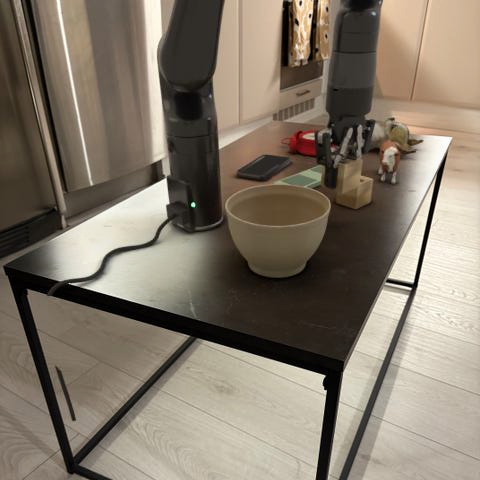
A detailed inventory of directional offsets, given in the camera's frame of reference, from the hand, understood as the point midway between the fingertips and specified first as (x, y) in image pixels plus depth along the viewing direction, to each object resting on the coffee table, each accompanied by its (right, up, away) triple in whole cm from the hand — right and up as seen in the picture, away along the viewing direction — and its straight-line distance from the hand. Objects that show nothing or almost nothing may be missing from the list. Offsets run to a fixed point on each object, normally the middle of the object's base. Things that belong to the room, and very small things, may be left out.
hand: (340, 183), depth 91 cm
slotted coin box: (+5, -1, +13) cm, 14 cm away
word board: (-1, +8, +25) cm, 26 cm away
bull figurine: (+15, +7, +24) cm, 29 cm away
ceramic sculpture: (+21, +19, +40) cm, 49 cm away
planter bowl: (-12, -16, -8) cm, 21 cm away
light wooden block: (0, -1, 0) cm, 1 cm away
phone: (-12, +12, +31) cm, 35 cm away
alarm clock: (0, +20, +43) cm, 47 cm away
